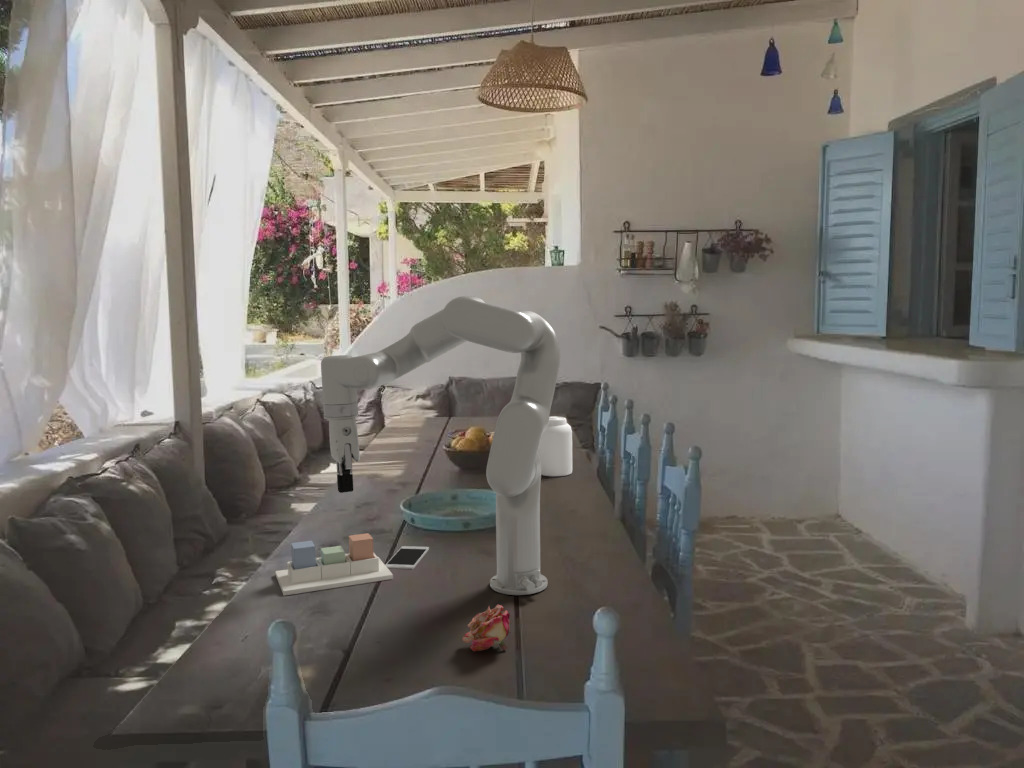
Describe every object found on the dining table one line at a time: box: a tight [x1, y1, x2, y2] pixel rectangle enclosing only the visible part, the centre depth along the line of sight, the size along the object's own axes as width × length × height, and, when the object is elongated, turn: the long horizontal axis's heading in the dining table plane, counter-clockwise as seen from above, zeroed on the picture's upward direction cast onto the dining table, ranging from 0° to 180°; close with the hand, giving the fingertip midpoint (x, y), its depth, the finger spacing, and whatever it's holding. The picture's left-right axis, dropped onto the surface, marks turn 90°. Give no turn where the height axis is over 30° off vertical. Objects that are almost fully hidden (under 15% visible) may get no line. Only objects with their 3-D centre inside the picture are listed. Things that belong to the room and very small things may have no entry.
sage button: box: [320, 545, 346, 565], centre depth 185 cm, size 5×5×5 cm
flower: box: [462, 604, 512, 653], centre depth 146 cm, size 10×9×8 cm
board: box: [274, 551, 394, 596], centre depth 185 cm, size 14×24×4 cm, turn 113°
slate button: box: [290, 540, 317, 569], centre depth 182 cm, size 5×5×5 cm
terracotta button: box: [348, 532, 374, 561], centre depth 187 cm, size 5×5×5 cm
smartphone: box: [384, 545, 430, 570], centre depth 198 cm, size 7×15×1 cm, turn 172°
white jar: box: [537, 415, 573, 478], centre depth 287 cm, size 12×12×20 cm
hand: (345, 491), depth 183 cm, fingers closed
